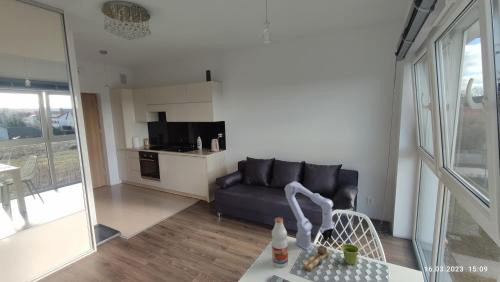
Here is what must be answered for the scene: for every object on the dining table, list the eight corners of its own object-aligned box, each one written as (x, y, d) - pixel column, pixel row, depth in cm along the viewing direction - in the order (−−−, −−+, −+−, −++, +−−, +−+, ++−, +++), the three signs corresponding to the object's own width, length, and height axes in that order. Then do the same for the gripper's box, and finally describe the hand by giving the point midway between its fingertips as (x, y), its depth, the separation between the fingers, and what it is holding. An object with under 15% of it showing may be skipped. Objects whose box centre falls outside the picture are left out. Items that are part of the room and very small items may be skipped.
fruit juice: (284, 256, 146) (282, 214, 143) (290, 266, 137) (289, 221, 134) (270, 260, 143) (268, 217, 140) (276, 269, 134) (274, 224, 131)
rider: (323, 257, 140) (323, 250, 140) (317, 255, 143) (317, 247, 143) (326, 255, 143) (326, 247, 142) (320, 252, 146) (320, 245, 145)
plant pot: (356, 269, 132) (356, 254, 131) (339, 263, 137) (339, 249, 136) (360, 260, 139) (360, 246, 138) (344, 255, 145) (344, 242, 144)
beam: (311, 272, 130) (311, 267, 130) (302, 267, 135) (302, 262, 135) (330, 257, 144) (330, 252, 143) (320, 252, 148) (320, 248, 148)
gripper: (327, 225, 137) (327, 246, 139) (339, 217, 147) (339, 237, 148) (316, 221, 142) (316, 242, 144) (328, 213, 152) (328, 233, 154)
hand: (327, 239), depth 147 cm, fingers open, 4 cm apart
